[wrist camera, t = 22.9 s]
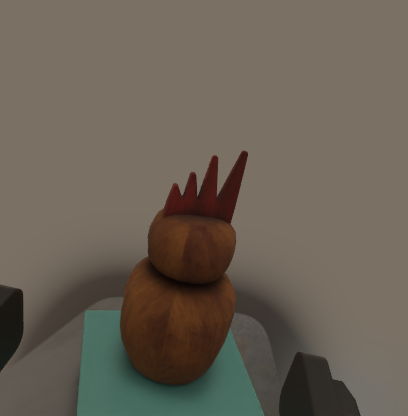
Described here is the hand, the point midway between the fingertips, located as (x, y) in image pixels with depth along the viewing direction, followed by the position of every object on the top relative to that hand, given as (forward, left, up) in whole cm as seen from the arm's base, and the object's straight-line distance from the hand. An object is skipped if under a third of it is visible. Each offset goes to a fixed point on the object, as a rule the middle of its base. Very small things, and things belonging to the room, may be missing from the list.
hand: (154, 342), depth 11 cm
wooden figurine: (+3, +10, -12) cm, 16 cm away
